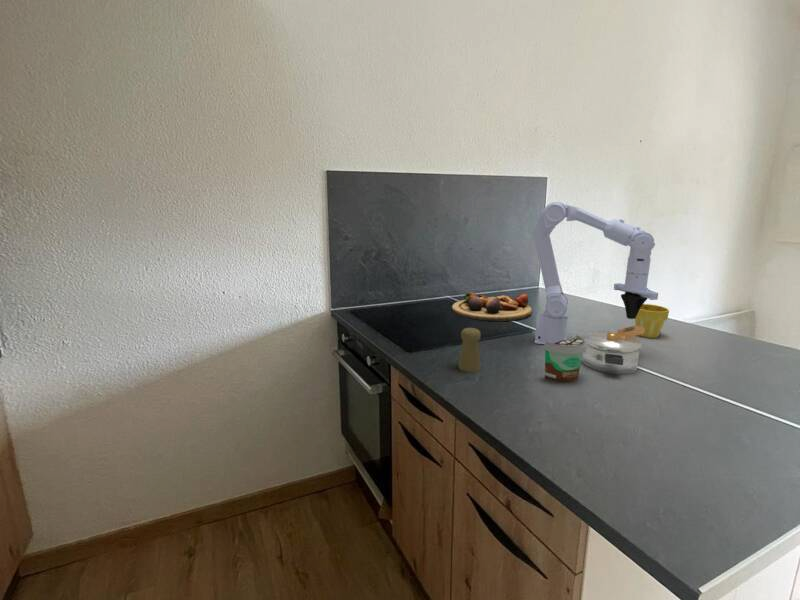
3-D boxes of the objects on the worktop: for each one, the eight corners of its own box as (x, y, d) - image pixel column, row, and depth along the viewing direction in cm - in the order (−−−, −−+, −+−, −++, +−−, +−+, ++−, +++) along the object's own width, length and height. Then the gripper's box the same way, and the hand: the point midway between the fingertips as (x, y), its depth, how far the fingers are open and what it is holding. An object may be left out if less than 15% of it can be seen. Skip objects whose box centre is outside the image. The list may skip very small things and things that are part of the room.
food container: (559, 388, 105) (563, 349, 102) (540, 378, 110) (543, 341, 108) (593, 378, 110) (598, 341, 108) (574, 370, 115) (578, 335, 113)
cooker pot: (642, 381, 109) (646, 359, 107) (583, 373, 113) (585, 352, 112) (630, 353, 129) (633, 334, 127) (580, 347, 133) (582, 328, 132)
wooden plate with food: (529, 305, 187) (530, 286, 185) (534, 324, 157) (535, 302, 155) (456, 301, 194) (456, 283, 193) (447, 319, 164) (447, 298, 162)
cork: (482, 365, 118) (484, 327, 116) (478, 373, 113) (480, 333, 110) (460, 362, 120) (462, 324, 118) (455, 370, 115) (457, 331, 112)
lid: (619, 356, 109) (620, 345, 108) (571, 339, 121) (572, 329, 120) (664, 343, 119) (666, 333, 118) (616, 329, 131) (617, 320, 130)
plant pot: (669, 341, 140) (674, 312, 138) (635, 338, 142) (639, 310, 140) (658, 331, 150) (662, 304, 148) (626, 329, 152) (629, 302, 150)
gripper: (669, 277, 119) (662, 323, 122) (629, 268, 132) (623, 311, 135) (649, 278, 117) (642, 325, 120) (610, 269, 130) (605, 312, 134)
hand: (631, 318), depth 128 cm, fingers closed
